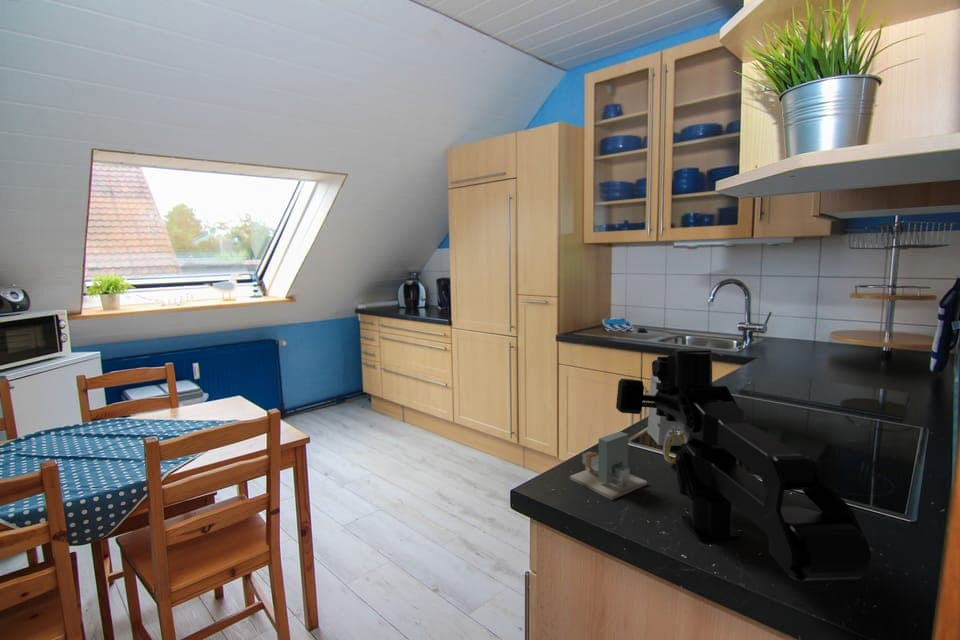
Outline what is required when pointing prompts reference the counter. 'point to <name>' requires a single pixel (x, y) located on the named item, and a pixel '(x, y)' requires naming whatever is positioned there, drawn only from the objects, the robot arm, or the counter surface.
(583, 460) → the grey square-edged bar
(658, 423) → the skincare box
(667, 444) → the ring
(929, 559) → the counter surface
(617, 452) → the sleeve collar
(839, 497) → the robot arm
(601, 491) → the guide board
